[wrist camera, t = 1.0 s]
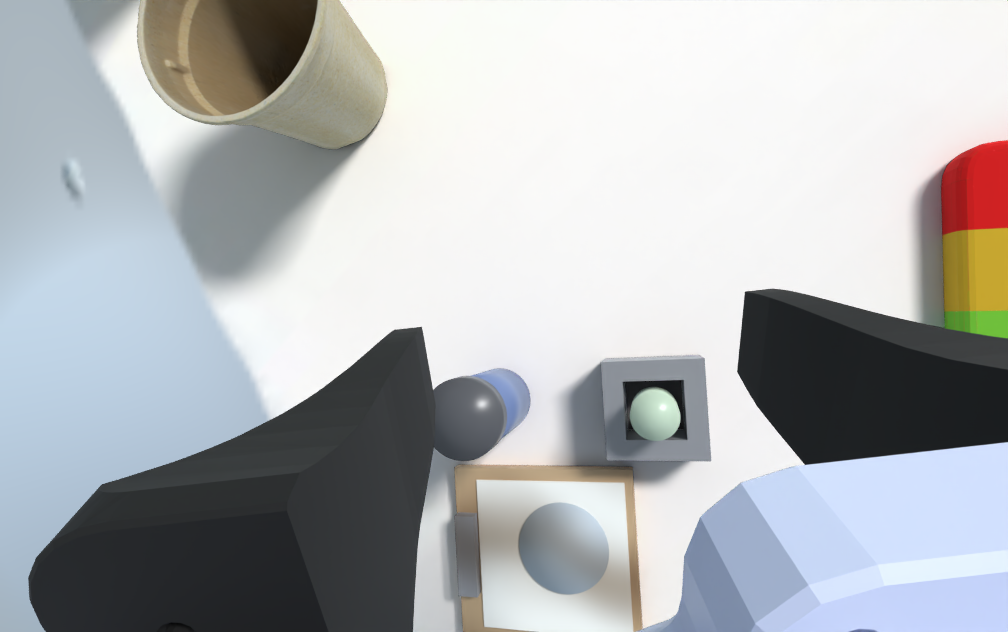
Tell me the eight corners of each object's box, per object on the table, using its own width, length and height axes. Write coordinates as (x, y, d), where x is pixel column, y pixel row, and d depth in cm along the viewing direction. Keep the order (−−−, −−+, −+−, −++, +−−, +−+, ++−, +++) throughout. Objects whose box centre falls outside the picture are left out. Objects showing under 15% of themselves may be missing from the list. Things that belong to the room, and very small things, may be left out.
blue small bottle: (534, 432, 27) (503, 461, 22) (471, 432, 28) (425, 460, 23) (530, 365, 28) (498, 376, 22) (467, 367, 28) (420, 379, 23)
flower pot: (278, 14, 32) (146, -95, 23) (425, 8, 29) (335, -116, 21) (262, 173, 32) (125, 121, 24) (406, 181, 29) (310, 125, 21)
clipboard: (643, 646, 26) (643, 661, 25) (467, 628, 28) (459, 642, 27) (632, 466, 26) (631, 473, 25) (458, 464, 28) (450, 470, 27)
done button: (679, 431, 24) (681, 441, 22) (632, 431, 24) (631, 440, 22) (676, 385, 24) (679, 391, 22) (630, 387, 24) (628, 392, 22)
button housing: (705, 448, 25) (711, 461, 23) (610, 448, 26) (606, 460, 24) (699, 354, 25) (704, 358, 23) (605, 358, 27) (600, 362, 24)
